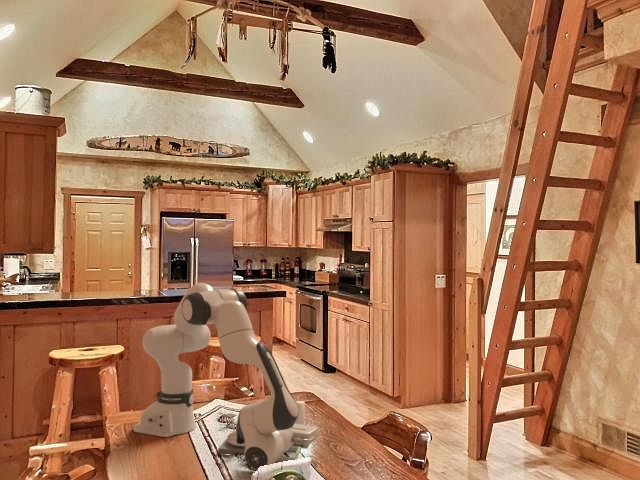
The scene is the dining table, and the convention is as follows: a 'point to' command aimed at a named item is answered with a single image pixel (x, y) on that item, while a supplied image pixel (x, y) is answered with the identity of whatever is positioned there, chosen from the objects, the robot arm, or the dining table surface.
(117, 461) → the dining table surface
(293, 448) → the tray
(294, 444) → the socket plate
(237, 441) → the crank
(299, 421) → the pin
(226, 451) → the crank base
